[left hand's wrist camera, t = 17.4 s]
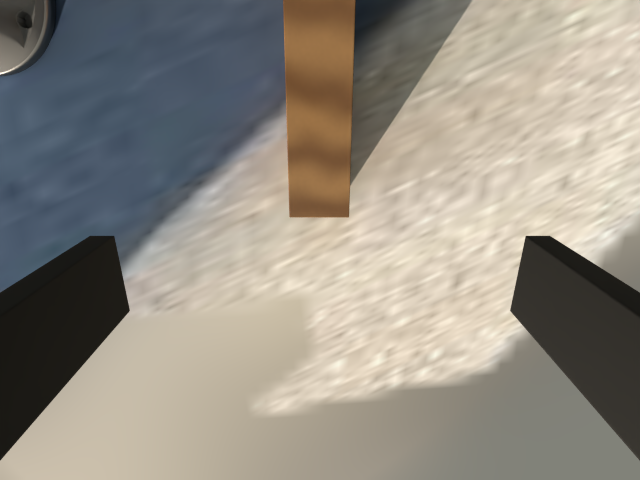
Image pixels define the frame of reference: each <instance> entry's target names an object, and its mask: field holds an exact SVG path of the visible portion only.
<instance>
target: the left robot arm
mask: <svg viewBox="0 0 640 480" xmlns="http://www.w3.org/2000/svg"><path fill="white" fill-rule="evenodd" d="M55 15H56V9H55V0H0V76H7V75H12V74H16V73H19V72H21V71H23V70H25V69H27V68H29V67H30V66H32V65H33V64H34V63H35V62H36V61H37V60H38V59H39V58H40V57H41V56H42V54H43V53H44V52H45V50H46V48H47V47H48V45H49V42H50V40H51V37H52V34H53V30H54V25H55ZM129 311H130V310H129V305H128V300H127V295H126V290H125V286H124V281H123V276H122V271H121V266H120V262H119V257H118V252H117V247H116V242H115V238H114V236H89V237H88V238H86V239H85V240H83V241H81V242H80V243H78V244H77V245H75V246H73V247H72V248H70V249H69V250H67V251H66V252H64V253H62V254H61V255H59V256H58V257H56V258H54V259H53V260H51V261H50V262H48V263H47V264H45V265H43V266H42V267H40V268H39V269H37V270H35V271H34V272H32V273H31V274H29V275H28V276H26V277H24V278H23V279H21V280H20V281H18V282H16V283H15V284H13V285H12V286H10V287H9V288H7V289H5V290H4V291H2V292H1V293H0V460H1V459H2V458H3V457H4V455H5V454H6V453H7V452H8V451H9V450H10V449H11V447H12V446H13V445H14V444H15V443H16V442H17V440H18V439H19V438H20V437H21V436H22V435H23V434H24V432H25V431H26V430H27V429H28V428H29V427H30V425H31V424H32V423H33V422H34V421H35V420H36V419H37V417H38V416H39V415H40V414H41V413H42V412H43V410H44V409H45V408H46V407H47V406H48V405H49V403H50V402H51V401H52V400H53V399H54V398H55V397H56V395H57V394H58V393H59V392H60V391H61V390H62V388H63V387H64V386H65V385H66V384H67V383H68V382H69V380H70V379H71V378H72V377H73V376H74V375H75V373H76V372H77V371H78V370H79V369H80V368H81V367H82V365H83V364H84V363H85V362H86V361H87V360H88V358H89V357H90V356H91V355H92V354H93V353H94V352H95V350H96V349H97V348H98V347H99V346H100V345H101V343H102V342H103V341H104V340H105V339H106V338H107V336H108V335H109V334H110V333H111V332H112V331H113V330H114V328H115V327H116V326H117V325H118V324H119V323H120V321H121V320H122V319H123V318H124V317H125V316H126V315H127V313H128V312H129ZM510 311H511V312H512V313H513V315H514V316H515V317H516V318H517V319H518V320H519V321H520V323H521V324H522V325H523V326H524V327H525V328H526V330H527V331H528V332H529V333H530V334H531V335H532V336H533V338H534V339H535V340H536V341H537V342H538V343H539V345H540V346H541V347H542V348H543V349H544V350H545V351H546V353H547V354H548V355H549V356H550V357H551V358H552V360H553V361H554V362H555V363H556V364H557V365H558V367H559V368H560V369H561V370H562V371H563V372H564V373H565V375H566V376H567V377H568V378H569V379H570V380H571V381H572V383H573V384H574V385H575V386H576V387H577V388H578V390H579V391H580V392H581V393H582V394H583V395H584V397H585V398H586V399H587V400H588V401H589V402H590V404H591V405H592V406H593V407H594V408H595V409H596V410H597V412H598V413H599V414H600V415H601V416H602V417H603V419H604V420H605V421H606V422H607V423H608V424H609V425H610V427H611V428H612V429H613V430H614V431H615V432H616V434H617V435H618V436H619V437H620V438H621V439H622V440H623V442H624V443H625V444H626V445H627V446H628V447H629V449H630V450H631V451H632V452H633V453H634V454H635V455H636V457H637V458H638V459H639V460H640V293H639V292H638V291H636V290H635V289H633V288H631V287H630V286H628V285H627V284H625V283H624V282H622V281H620V280H619V279H617V278H616V277H614V276H612V275H611V274H609V273H608V272H606V271H605V270H603V269H601V268H600V267H598V266H597V265H595V264H593V263H592V262H590V261H589V260H587V259H586V258H584V257H582V256H581V255H579V254H578V253H576V252H574V251H573V250H571V249H570V248H568V247H567V246H565V245H563V244H562V243H560V242H559V241H557V240H555V239H554V238H552V237H551V236H526V238H525V242H524V247H523V252H522V257H521V262H520V266H519V271H518V276H517V281H516V286H515V290H514V295H513V300H512V305H511V310H510Z"/></svg>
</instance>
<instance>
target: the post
mask: <svg viewBox="0 0 640 480" xmlns="http://www.w3.org/2000/svg"><path fill="white" fill-rule="evenodd" d="M283 6H284V41H285V75H286V110H287V144H288V179H289V214H290V217H349V199H350V166H351V132H352V99H353V66H354V32H355V0H283Z"/></svg>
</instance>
